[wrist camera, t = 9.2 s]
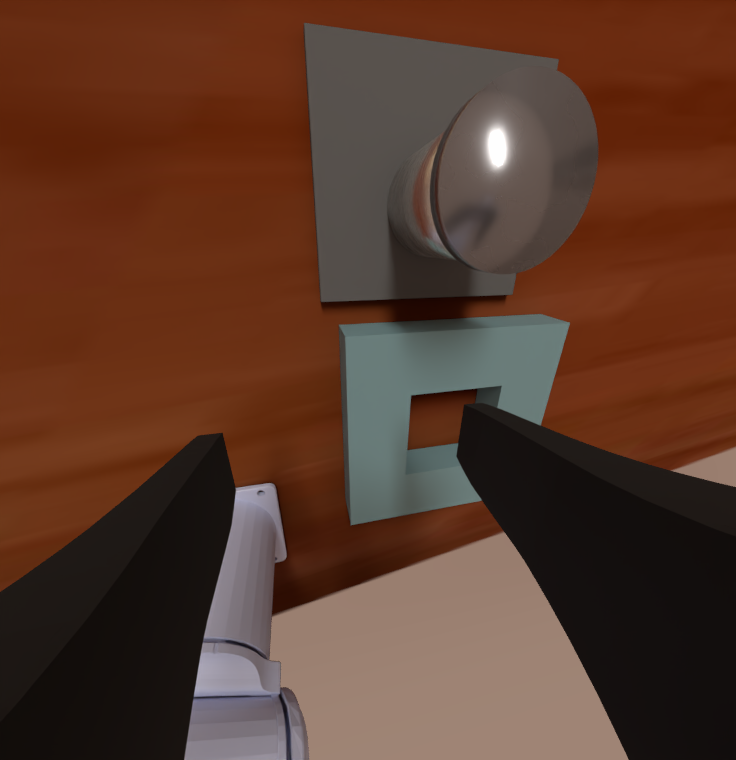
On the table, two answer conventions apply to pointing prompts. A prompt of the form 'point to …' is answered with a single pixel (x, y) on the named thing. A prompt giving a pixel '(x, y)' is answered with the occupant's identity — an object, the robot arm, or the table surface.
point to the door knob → (500, 176)
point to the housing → (431, 375)
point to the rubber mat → (386, 154)
